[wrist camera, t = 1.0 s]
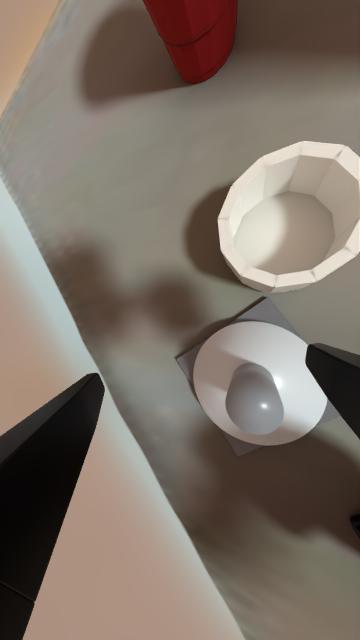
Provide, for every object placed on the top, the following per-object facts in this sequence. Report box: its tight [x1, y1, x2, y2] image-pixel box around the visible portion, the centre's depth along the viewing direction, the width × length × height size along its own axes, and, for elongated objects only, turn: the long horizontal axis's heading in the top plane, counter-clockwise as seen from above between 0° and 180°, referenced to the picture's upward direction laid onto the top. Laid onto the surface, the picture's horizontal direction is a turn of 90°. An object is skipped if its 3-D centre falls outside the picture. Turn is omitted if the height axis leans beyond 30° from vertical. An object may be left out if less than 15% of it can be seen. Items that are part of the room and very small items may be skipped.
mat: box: [176, 297, 341, 456], centre depth 17 cm, size 11×11×1 cm
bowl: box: [218, 141, 360, 293], centre depth 14 cm, size 9×9×4 cm
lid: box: [193, 321, 327, 445], centre depth 14 cm, size 11×11×5 cm
